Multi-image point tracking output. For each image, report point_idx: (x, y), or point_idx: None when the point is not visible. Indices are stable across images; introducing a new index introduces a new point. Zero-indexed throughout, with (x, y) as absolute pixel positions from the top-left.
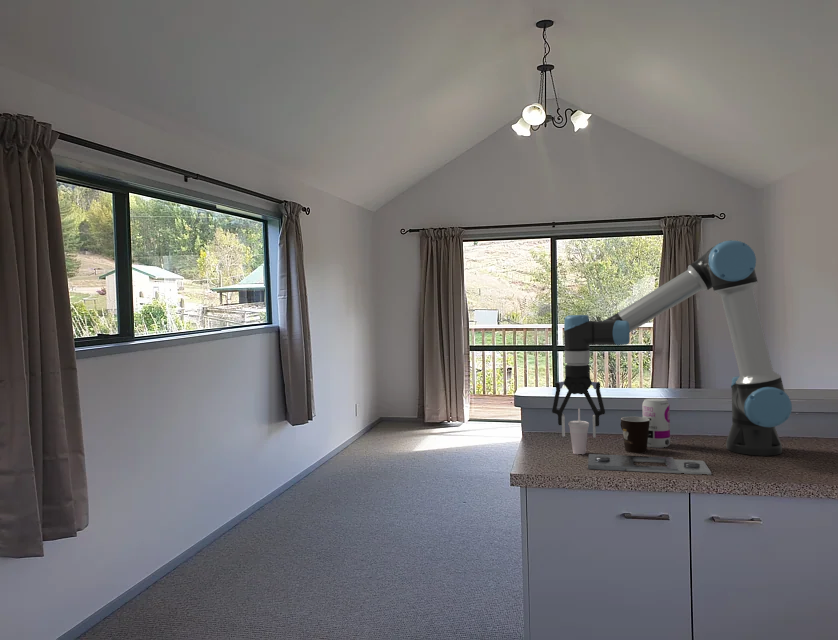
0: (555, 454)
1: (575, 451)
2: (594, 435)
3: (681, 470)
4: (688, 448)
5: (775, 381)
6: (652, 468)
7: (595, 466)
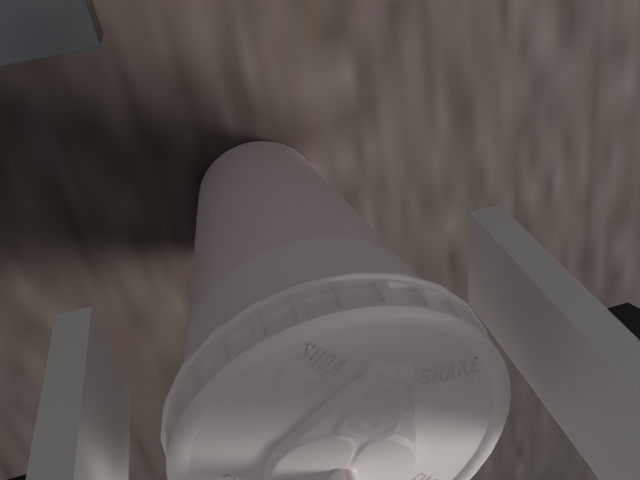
0: (475, 57)
1: (291, 154)
2: (68, 331)
3: None
4: None
5: None
6: None
7: None
